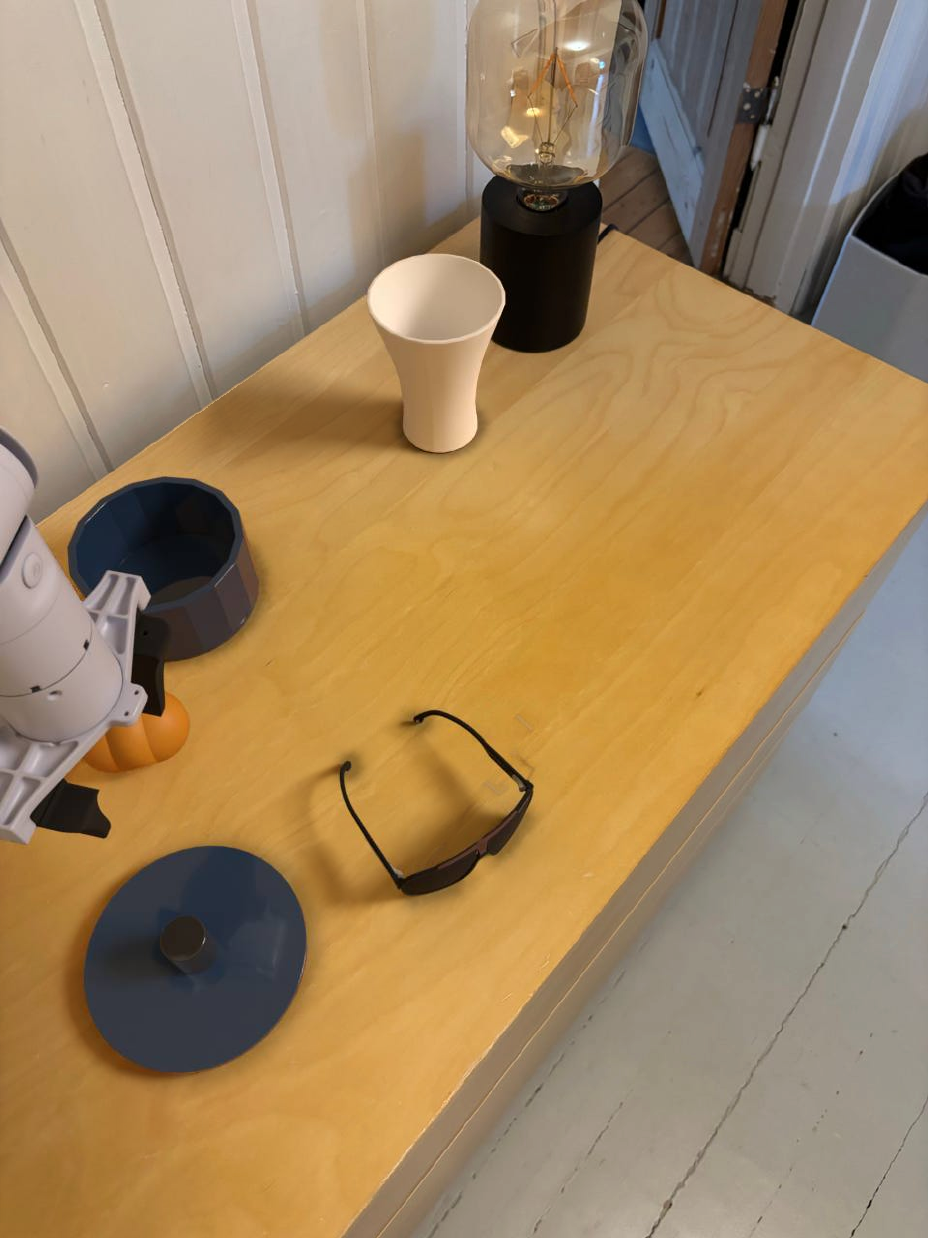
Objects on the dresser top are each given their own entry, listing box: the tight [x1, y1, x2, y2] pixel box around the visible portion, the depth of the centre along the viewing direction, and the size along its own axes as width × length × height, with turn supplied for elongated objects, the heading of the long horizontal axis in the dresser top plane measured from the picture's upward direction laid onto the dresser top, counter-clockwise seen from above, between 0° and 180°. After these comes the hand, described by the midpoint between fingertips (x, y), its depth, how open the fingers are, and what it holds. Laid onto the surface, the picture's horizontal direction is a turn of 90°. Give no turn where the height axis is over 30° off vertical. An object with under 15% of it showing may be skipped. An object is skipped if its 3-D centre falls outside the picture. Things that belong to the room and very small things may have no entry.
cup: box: [365, 253, 506, 453], centre depth 76 cm, size 10×10×14 cm
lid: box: [83, 845, 308, 1075], centre depth 55 cm, size 13×13×4 cm
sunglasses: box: [339, 709, 535, 897], centre depth 61 cm, size 11×12×5 cm
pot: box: [66, 475, 260, 663], centre depth 69 cm, size 12×12×6 cm
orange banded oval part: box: [81, 690, 191, 774], centre depth 63 cm, size 7×5×5 cm
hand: (120, 766), depth 54 cm, fingers open, 7 cm apart
